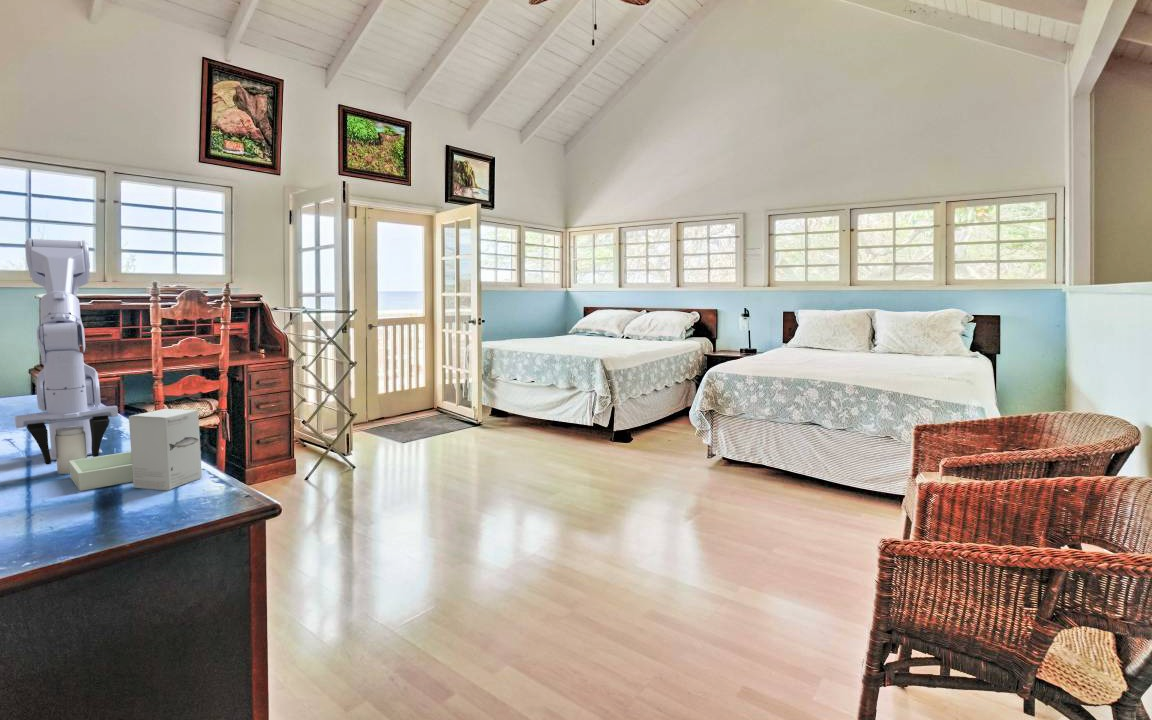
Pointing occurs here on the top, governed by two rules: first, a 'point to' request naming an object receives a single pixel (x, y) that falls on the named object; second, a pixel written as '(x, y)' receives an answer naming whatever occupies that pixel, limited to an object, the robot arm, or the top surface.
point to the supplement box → (165, 448)
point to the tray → (101, 471)
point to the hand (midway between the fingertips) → (72, 459)
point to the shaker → (69, 446)
